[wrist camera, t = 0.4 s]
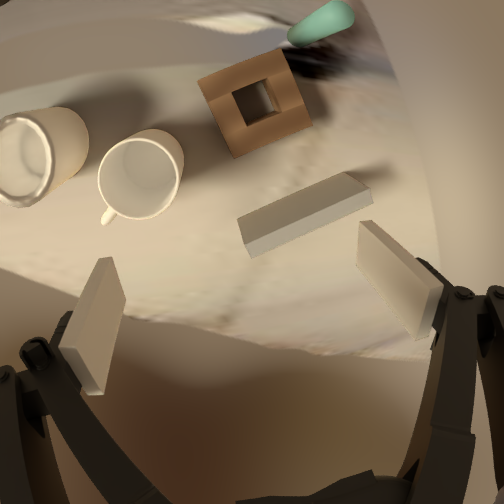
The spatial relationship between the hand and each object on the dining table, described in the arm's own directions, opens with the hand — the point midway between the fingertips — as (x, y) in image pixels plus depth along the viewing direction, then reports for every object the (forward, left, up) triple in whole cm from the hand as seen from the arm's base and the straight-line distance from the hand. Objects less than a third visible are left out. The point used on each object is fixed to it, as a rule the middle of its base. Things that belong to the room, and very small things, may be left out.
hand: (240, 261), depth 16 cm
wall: (+9, +7, -26) cm, 29 cm away
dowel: (-11, +16, -26) cm, 33 cm away
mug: (-13, -19, -26) cm, 35 cm away
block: (-5, +7, -26) cm, 28 cm away
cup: (-3, -9, -26) cm, 28 cm away
